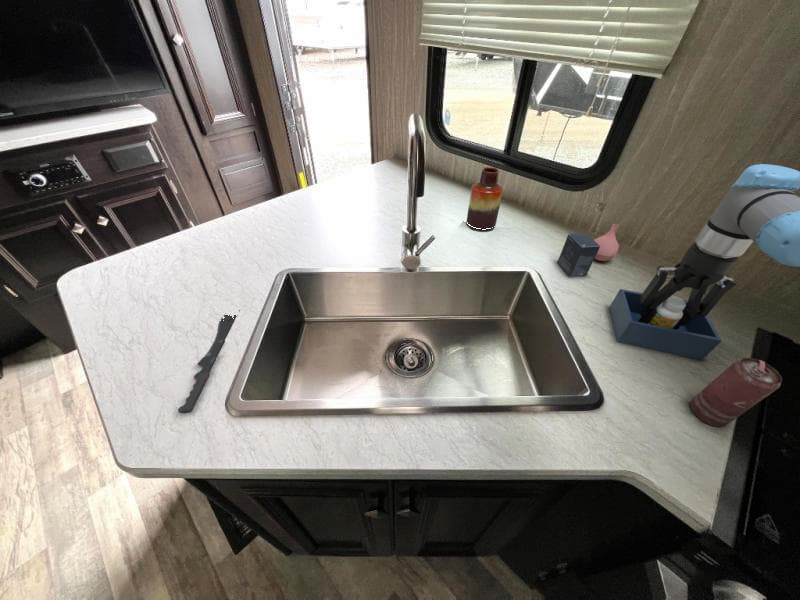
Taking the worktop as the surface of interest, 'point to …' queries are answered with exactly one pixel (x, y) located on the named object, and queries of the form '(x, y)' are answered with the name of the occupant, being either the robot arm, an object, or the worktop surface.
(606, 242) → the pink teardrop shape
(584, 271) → the box
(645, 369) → the worktop surface
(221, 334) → the knife
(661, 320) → the supplement bottle
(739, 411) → the can
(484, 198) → the vase
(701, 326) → the box
